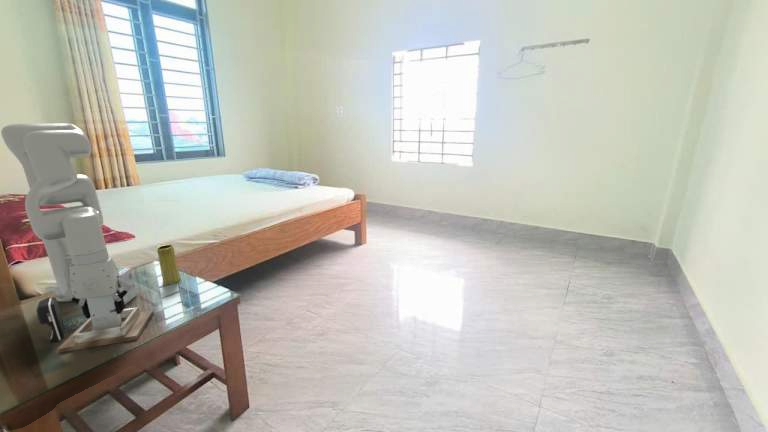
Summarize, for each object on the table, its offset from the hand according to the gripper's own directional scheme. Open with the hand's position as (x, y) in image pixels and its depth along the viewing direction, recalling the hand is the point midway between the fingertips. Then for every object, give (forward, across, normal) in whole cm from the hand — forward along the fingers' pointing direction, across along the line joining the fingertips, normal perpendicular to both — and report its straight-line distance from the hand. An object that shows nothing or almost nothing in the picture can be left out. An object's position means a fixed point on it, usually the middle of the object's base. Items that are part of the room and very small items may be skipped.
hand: (105, 313), depth 97 cm
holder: (+6, 0, 0) cm, 6 cm away
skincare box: (+5, 0, 0) cm, 5 cm away
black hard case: (+6, -14, +2) cm, 15 cm away
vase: (+6, +8, +32) cm, 33 cm away
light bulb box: (+6, -5, +19) cm, 20 cm away
